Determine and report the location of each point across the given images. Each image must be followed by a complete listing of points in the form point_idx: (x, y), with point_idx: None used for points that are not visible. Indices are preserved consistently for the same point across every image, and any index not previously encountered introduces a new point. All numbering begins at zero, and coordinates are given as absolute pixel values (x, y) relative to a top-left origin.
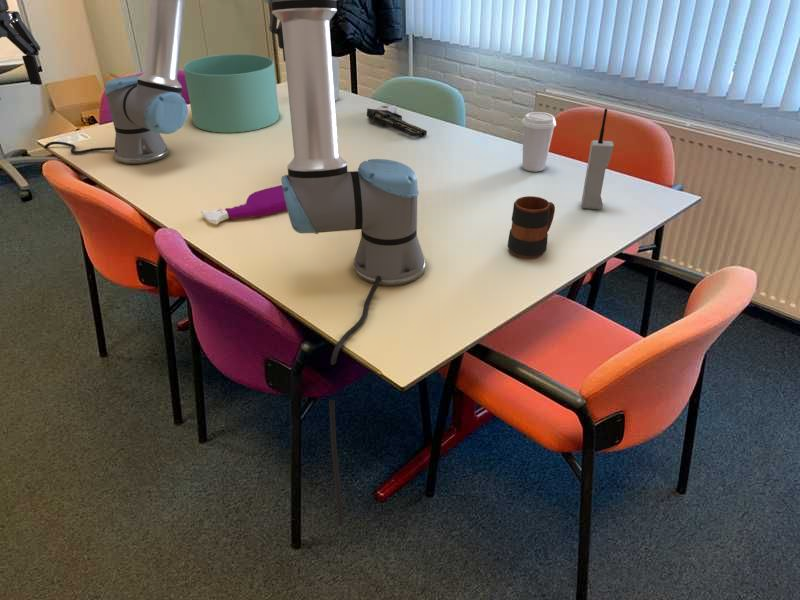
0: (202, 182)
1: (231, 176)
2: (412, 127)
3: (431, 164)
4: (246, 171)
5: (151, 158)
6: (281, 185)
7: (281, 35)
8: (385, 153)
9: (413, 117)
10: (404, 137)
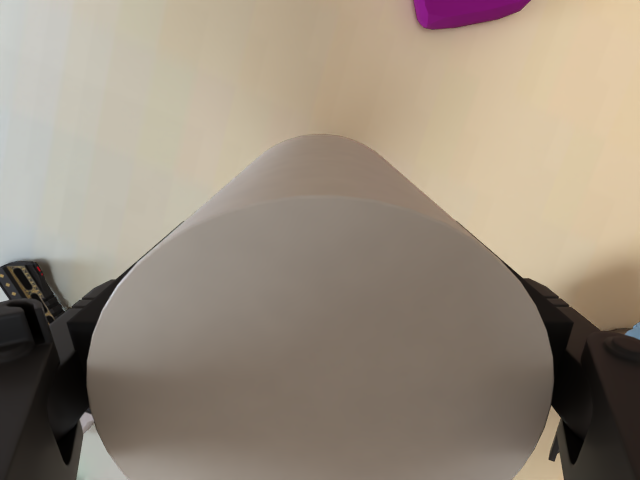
0: (564, 188)
1: (496, 197)
2: (22, 296)
3: (16, 80)
4: (457, 213)
5: None
6: (444, 13)
7: (601, 333)
8: (123, 199)
9: None
10: (58, 279)
